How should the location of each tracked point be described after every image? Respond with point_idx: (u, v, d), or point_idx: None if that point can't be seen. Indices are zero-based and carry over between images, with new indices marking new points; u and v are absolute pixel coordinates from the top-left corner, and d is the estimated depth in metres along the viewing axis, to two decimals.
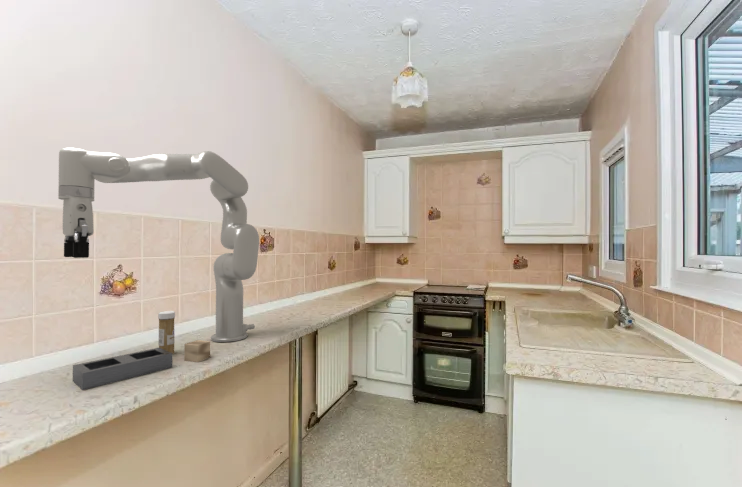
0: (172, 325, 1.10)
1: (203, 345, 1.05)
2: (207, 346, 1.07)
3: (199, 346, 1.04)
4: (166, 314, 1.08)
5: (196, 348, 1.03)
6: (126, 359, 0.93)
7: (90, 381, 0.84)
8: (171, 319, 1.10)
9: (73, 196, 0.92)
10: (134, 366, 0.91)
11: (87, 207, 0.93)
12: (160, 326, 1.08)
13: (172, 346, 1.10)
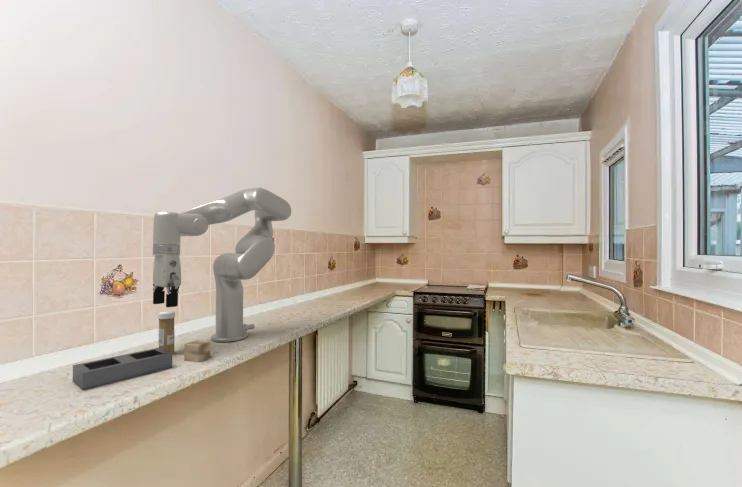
0: (172, 325, 1.10)
1: (203, 345, 1.05)
2: (207, 346, 1.07)
3: (199, 346, 1.04)
4: (166, 314, 1.08)
5: (196, 348, 1.03)
6: (126, 359, 0.93)
7: (90, 381, 0.84)
8: (171, 319, 1.10)
9: (166, 254, 1.07)
10: (134, 366, 0.91)
11: (177, 263, 1.08)
12: (160, 326, 1.08)
13: (172, 346, 1.10)
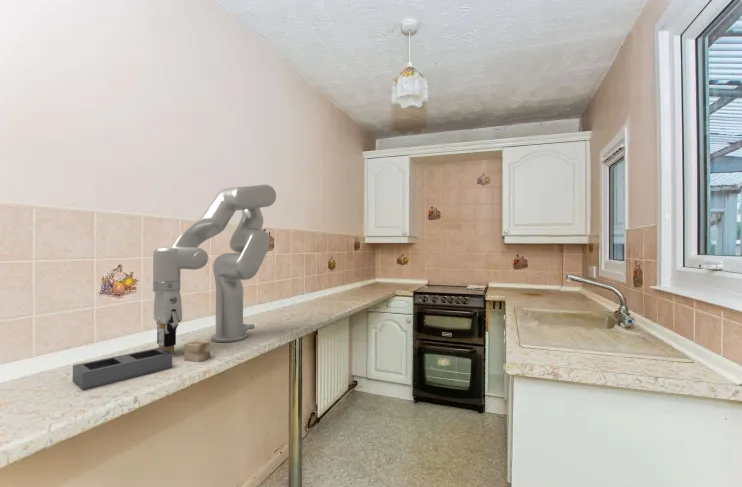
0: None
1: (203, 345, 1.05)
2: (207, 346, 1.07)
3: (199, 346, 1.04)
4: None
5: (196, 348, 1.03)
6: (126, 359, 0.93)
7: (90, 381, 0.84)
8: None
9: (166, 290, 1.07)
10: (134, 366, 0.91)
11: (177, 299, 1.08)
12: (160, 326, 1.08)
13: (172, 346, 1.10)
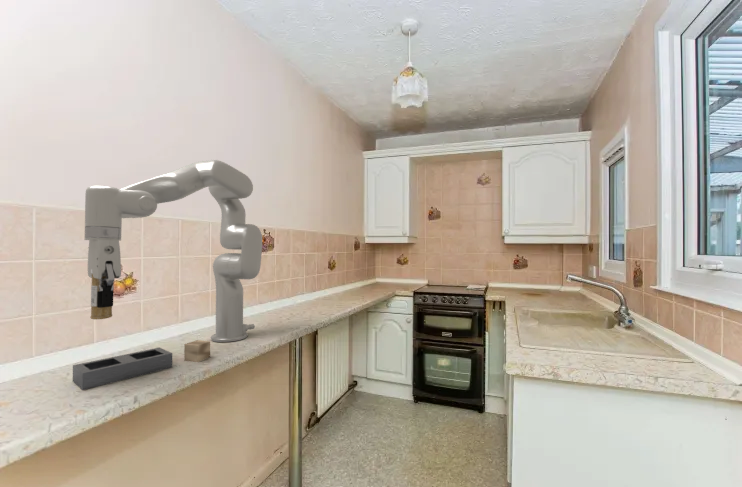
0: None
1: (203, 345, 1.05)
2: (207, 346, 1.07)
3: (199, 346, 1.04)
4: None
5: (196, 348, 1.03)
6: (126, 359, 0.93)
7: (90, 381, 0.84)
8: None
9: (100, 238, 0.86)
10: (134, 366, 0.91)
11: (115, 249, 0.88)
12: (93, 282, 0.88)
13: (108, 307, 0.89)
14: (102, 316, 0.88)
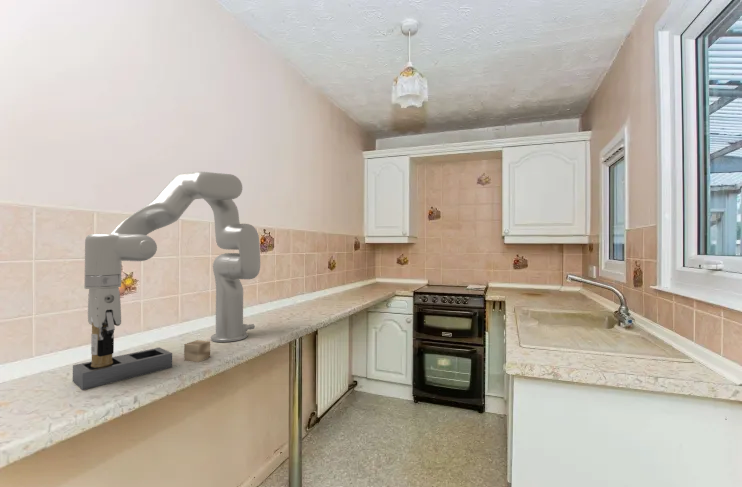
0: None
1: (203, 345, 1.05)
2: (207, 346, 1.07)
3: (199, 346, 1.04)
4: None
5: (196, 348, 1.03)
6: (126, 359, 0.93)
7: (90, 381, 0.84)
8: None
9: (100, 287, 0.86)
10: (134, 366, 0.91)
11: (115, 297, 0.88)
12: (93, 330, 0.88)
13: (109, 355, 0.89)
14: (102, 364, 0.88)
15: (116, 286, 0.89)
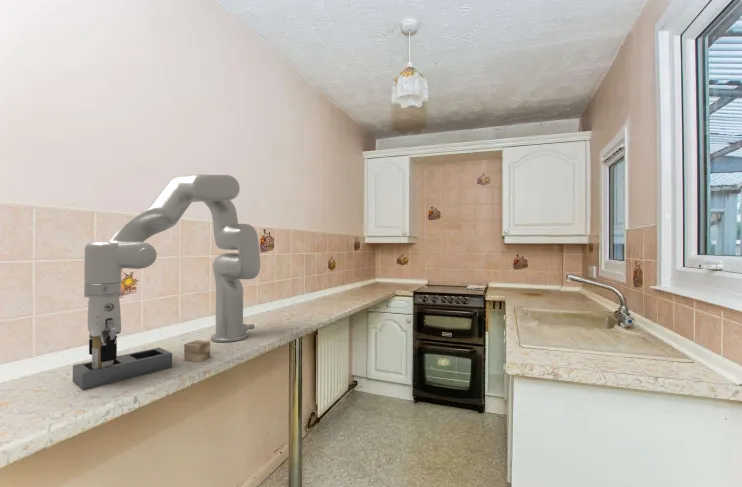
0: None
1: (203, 345, 1.05)
2: (207, 346, 1.07)
3: (199, 346, 1.04)
4: None
5: (196, 348, 1.03)
6: (126, 359, 0.93)
7: (90, 381, 0.84)
8: None
9: (100, 295, 0.86)
10: (134, 366, 0.91)
11: (115, 305, 0.88)
12: (93, 345, 0.88)
13: None
14: None
15: (116, 294, 0.89)
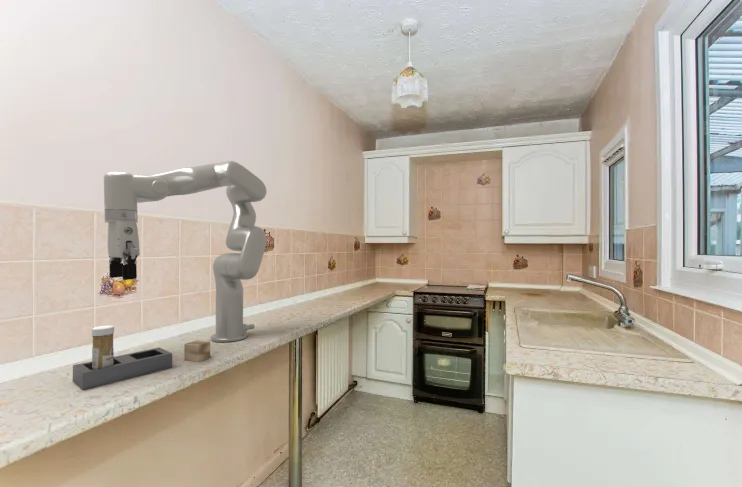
0: (110, 343, 0.89)
1: (203, 345, 1.05)
2: (207, 346, 1.07)
3: (199, 346, 1.04)
4: (101, 330, 0.88)
5: (196, 348, 1.03)
6: (126, 359, 0.93)
7: (90, 381, 0.84)
8: (108, 336, 0.89)
9: (120, 220, 0.95)
10: (134, 366, 0.91)
11: (133, 230, 0.96)
12: (94, 345, 0.88)
13: None
14: None
15: (134, 221, 0.97)
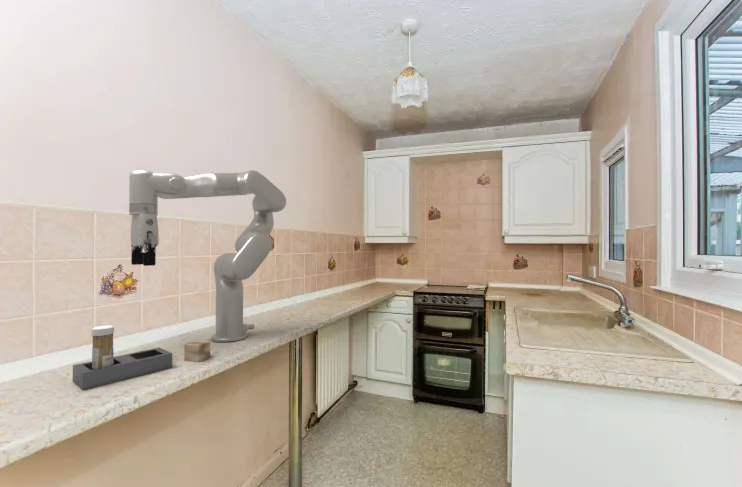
0: (110, 343, 0.89)
1: (203, 345, 1.05)
2: (207, 346, 1.07)
3: (199, 346, 1.04)
4: (101, 330, 0.88)
5: (196, 348, 1.03)
6: (126, 359, 0.93)
7: (90, 381, 0.84)
8: (108, 336, 0.89)
9: (142, 212, 1.07)
10: (134, 366, 0.91)
11: (154, 222, 1.08)
12: (94, 345, 0.88)
13: None
14: None
15: (154, 214, 1.09)
